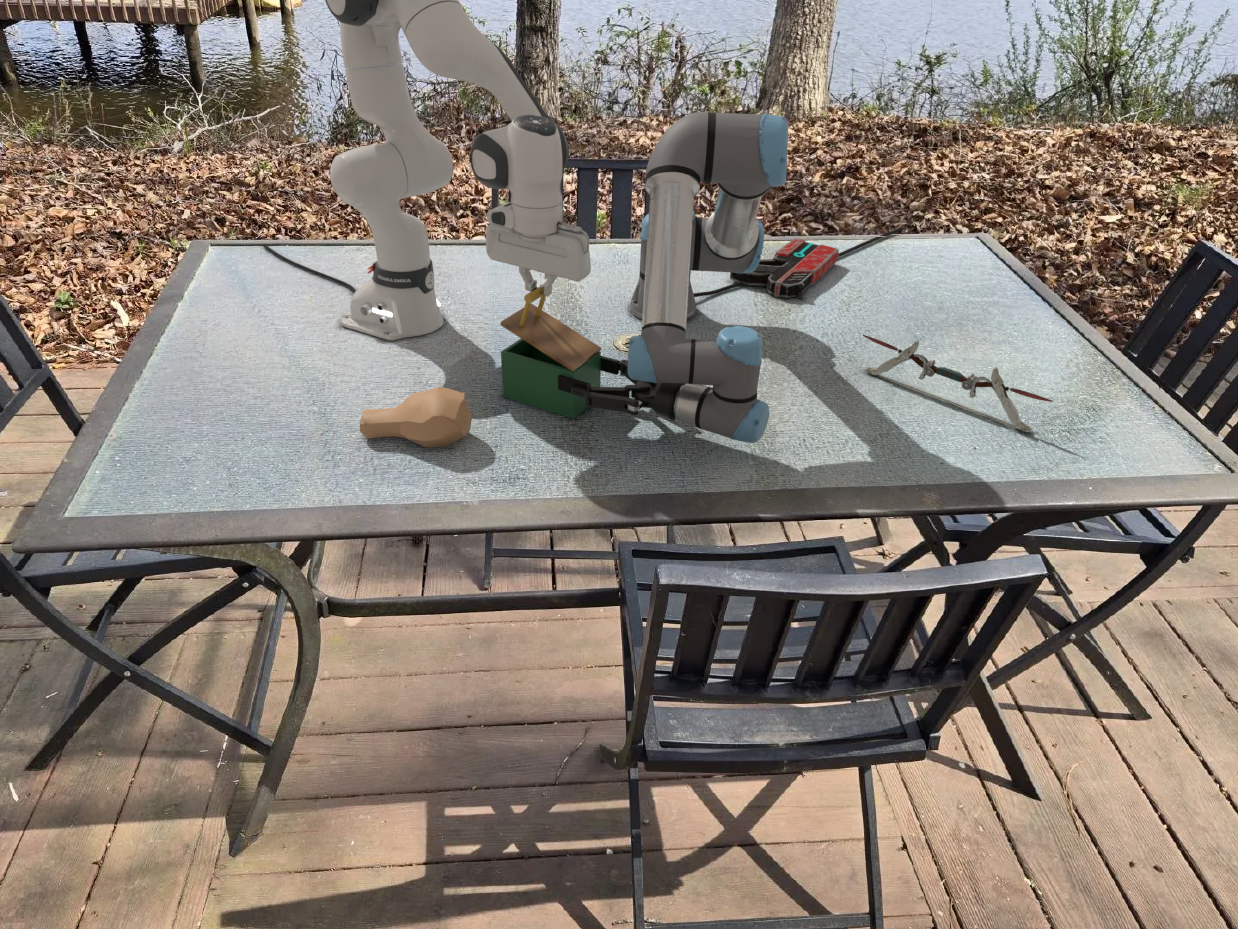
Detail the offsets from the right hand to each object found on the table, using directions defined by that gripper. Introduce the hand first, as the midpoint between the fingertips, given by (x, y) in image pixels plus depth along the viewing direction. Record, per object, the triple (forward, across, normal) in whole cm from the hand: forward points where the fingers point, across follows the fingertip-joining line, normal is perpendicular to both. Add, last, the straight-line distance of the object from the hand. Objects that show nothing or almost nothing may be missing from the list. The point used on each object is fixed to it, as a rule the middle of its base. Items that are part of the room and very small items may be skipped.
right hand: (574, 370), depth 164 cm
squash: (+17, -25, -7) cm, 31 cm away
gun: (-12, +85, -7) cm, 86 cm away
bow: (-61, +39, -7) cm, 73 cm away
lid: (+5, 0, +5) cm, 7 cm away
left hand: (+7, 0, +14) cm, 16 cm away
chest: (+5, 0, -7) cm, 9 cm away
